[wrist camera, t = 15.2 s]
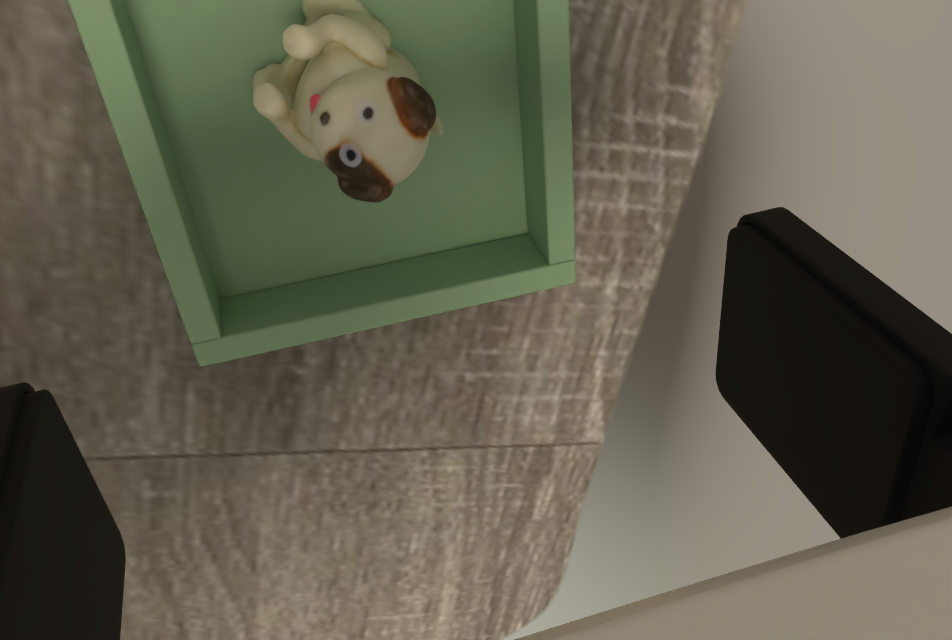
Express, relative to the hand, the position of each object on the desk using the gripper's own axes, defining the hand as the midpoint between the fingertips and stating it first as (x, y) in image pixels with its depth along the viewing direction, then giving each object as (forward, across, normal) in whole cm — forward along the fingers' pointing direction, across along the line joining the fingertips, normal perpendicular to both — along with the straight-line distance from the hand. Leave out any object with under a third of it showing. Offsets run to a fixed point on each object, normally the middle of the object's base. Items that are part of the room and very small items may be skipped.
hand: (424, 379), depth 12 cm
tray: (+13, -1, 0) cm, 13 cm away
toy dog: (+12, -1, 0) cm, 12 cm away
